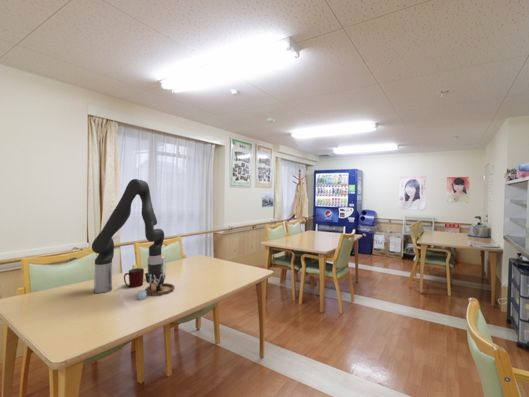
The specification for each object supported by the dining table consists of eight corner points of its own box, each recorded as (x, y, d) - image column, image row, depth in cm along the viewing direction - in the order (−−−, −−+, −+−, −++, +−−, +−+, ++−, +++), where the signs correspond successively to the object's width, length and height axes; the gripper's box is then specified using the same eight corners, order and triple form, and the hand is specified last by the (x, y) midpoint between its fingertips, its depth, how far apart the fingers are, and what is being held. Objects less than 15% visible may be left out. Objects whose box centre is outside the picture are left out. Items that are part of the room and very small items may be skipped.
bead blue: (139, 302, 148) (139, 293, 148) (137, 300, 151) (137, 291, 151) (147, 300, 150) (147, 292, 150) (145, 298, 154) (145, 289, 154)
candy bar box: (147, 281, 183) (147, 257, 183) (150, 278, 188) (151, 255, 187) (162, 282, 182) (162, 258, 181) (166, 279, 187) (166, 256, 186)
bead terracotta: (155, 293, 156) (155, 284, 156) (149, 291, 158) (149, 283, 158) (160, 290, 160) (160, 282, 160) (154, 289, 162) (154, 281, 162)
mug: (127, 292, 163) (127, 274, 162) (120, 288, 168) (121, 271, 168) (146, 286, 172) (146, 270, 172) (139, 283, 178) (139, 267, 177)
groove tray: (149, 299, 152) (149, 295, 151) (142, 291, 164) (142, 286, 164) (178, 293, 162) (178, 288, 162) (168, 285, 175) (168, 281, 174)
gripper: (141, 262, 158) (140, 291, 158) (159, 265, 153) (159, 294, 153) (150, 259, 165) (150, 287, 165) (169, 262, 160) (168, 290, 160)
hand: (155, 290), depth 159 cm, fingers closed on bead terracotta, 4 cm apart
